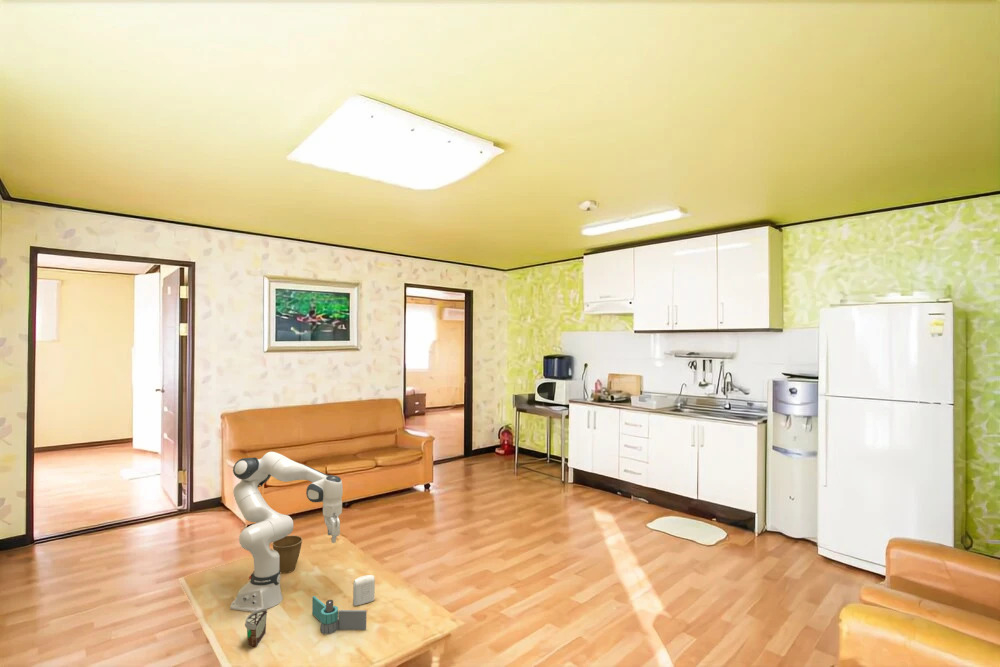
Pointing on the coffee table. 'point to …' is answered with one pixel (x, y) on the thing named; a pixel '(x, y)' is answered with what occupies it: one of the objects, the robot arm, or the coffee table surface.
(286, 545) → the plant pot
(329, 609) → the hinge pin
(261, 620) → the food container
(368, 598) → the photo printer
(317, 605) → the teal hinge knuckle plate
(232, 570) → the coffee table surface
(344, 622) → the frame leaf
